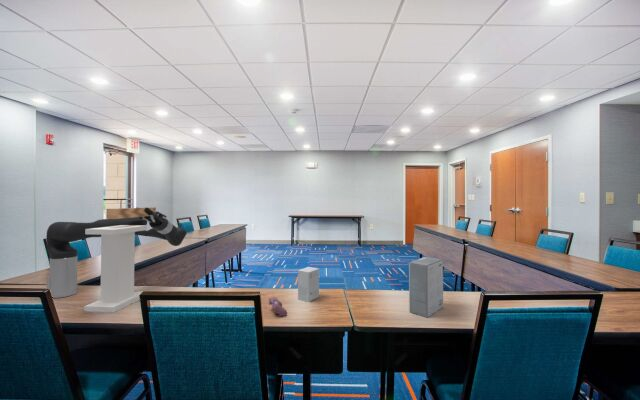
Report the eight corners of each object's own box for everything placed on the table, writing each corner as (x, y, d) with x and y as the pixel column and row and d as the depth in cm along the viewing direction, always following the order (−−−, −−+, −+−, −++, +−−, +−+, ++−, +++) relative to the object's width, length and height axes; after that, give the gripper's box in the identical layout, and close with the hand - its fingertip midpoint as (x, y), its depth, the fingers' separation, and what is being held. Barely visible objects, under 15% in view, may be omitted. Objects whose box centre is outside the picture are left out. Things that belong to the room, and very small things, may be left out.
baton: (147, 215, 134) (147, 207, 134) (155, 215, 133) (155, 207, 133) (106, 218, 110) (106, 208, 110) (115, 218, 110) (115, 209, 110)
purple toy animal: (272, 311, 110) (265, 297, 109) (282, 305, 111) (275, 290, 110) (277, 321, 101) (269, 306, 99) (288, 314, 102) (280, 299, 101)
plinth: (121, 295, 123) (122, 225, 123) (146, 296, 122) (147, 225, 122) (84, 311, 105) (85, 229, 105) (113, 312, 104) (114, 229, 104)
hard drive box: (425, 302, 117) (425, 256, 117) (443, 307, 112) (444, 259, 112) (408, 312, 106) (408, 261, 106) (427, 318, 101) (427, 265, 101)
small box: (308, 294, 126) (308, 266, 126) (319, 297, 122) (319, 268, 123) (297, 299, 119) (297, 270, 119) (308, 302, 116) (309, 272, 116)
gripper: (151, 218, 143) (129, 202, 129) (176, 218, 142) (158, 202, 128) (145, 231, 140) (123, 216, 125) (172, 231, 139) (152, 216, 124)
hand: (141, 209), depth 126 cm, fingers closed on baton, 4 cm apart
